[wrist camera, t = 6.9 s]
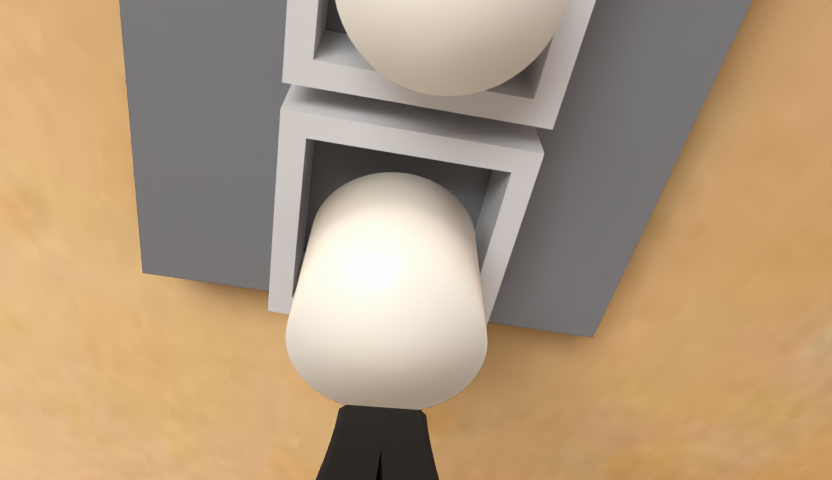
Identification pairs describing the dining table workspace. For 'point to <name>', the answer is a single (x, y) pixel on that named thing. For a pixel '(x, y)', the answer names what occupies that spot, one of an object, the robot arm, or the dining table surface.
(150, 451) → the dining table surface
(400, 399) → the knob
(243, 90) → the panel
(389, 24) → the knob mid
